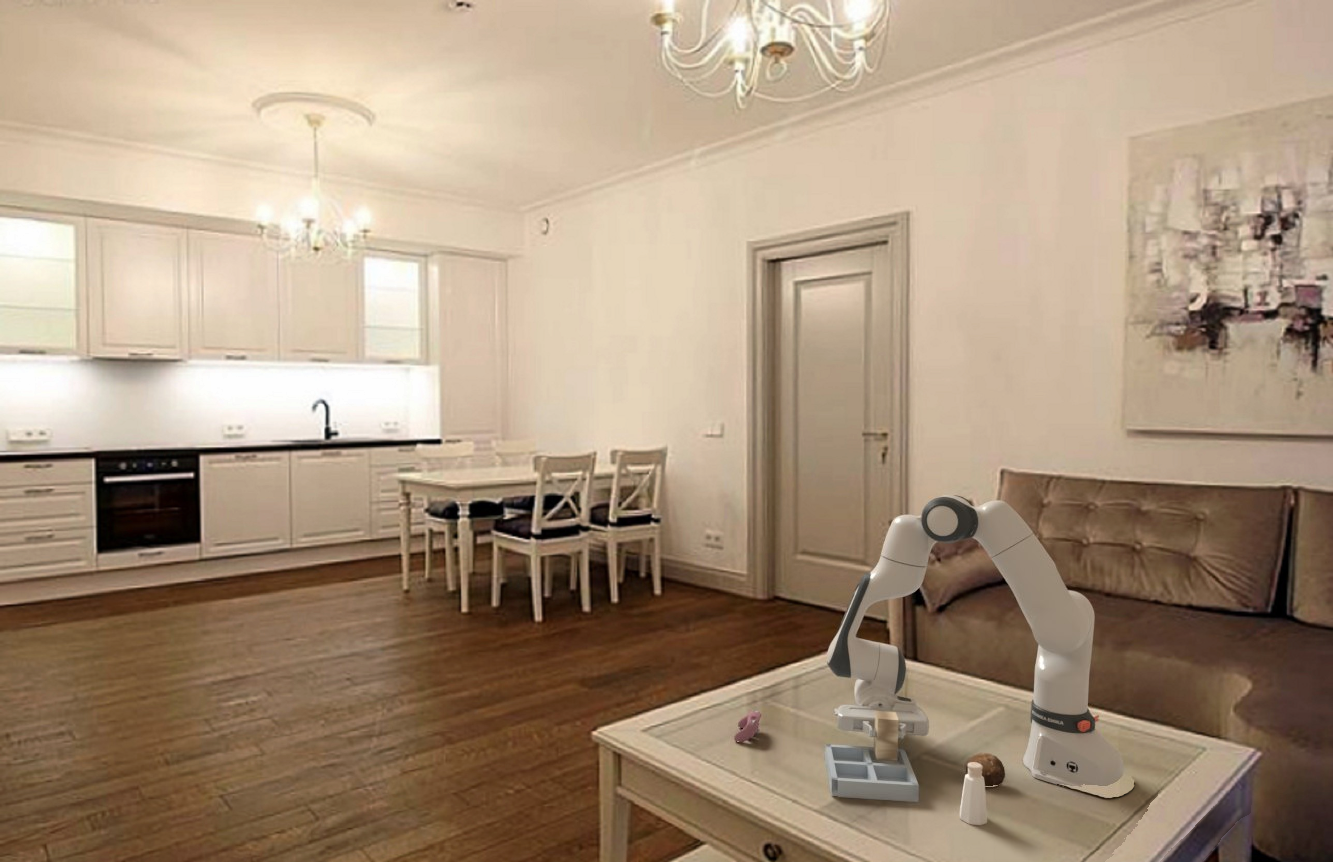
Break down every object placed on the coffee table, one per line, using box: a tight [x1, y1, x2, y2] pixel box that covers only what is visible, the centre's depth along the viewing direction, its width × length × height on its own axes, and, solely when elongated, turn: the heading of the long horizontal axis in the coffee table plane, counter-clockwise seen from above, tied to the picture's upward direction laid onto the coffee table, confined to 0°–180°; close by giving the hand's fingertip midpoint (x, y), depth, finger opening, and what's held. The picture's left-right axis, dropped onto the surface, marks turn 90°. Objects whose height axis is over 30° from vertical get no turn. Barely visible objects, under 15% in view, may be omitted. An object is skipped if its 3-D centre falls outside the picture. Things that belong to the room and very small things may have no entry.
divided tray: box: [824, 743, 920, 803], centre depth 185 cm, size 18×18×4 cm
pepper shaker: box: [959, 762, 988, 826], centre depth 169 cm, size 5×5×11 cm
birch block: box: [873, 711, 899, 760], centre depth 189 cm, size 4×4×9 cm
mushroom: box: [964, 752, 1006, 786], centre depth 185 cm, size 8×8×6 cm
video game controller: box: [733, 709, 762, 743], centre depth 207 cm, size 10×5×7 cm, turn 169°
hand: (886, 734), depth 188 cm, fingers closed on birch block, 4 cm apart
